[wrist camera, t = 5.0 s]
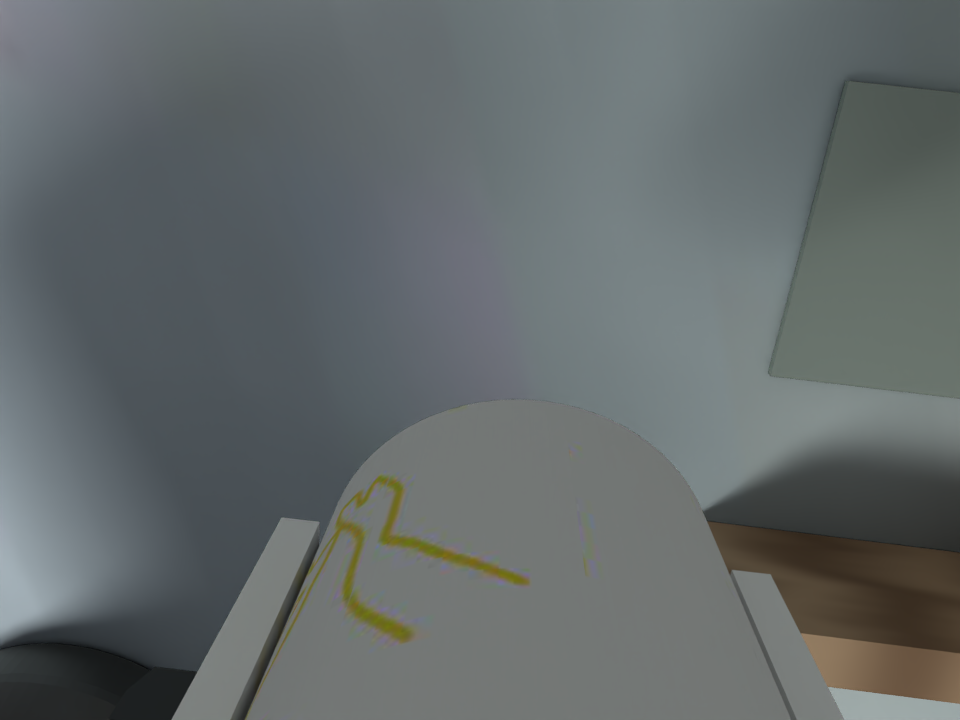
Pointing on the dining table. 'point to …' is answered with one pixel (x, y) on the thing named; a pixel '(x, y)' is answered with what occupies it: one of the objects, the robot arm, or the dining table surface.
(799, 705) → the robot arm
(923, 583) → the brown wooden l-shaped wall
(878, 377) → the pad
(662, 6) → the dining table surface
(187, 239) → the dining table surface
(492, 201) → the dining table surface
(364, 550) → the cup
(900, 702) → the dining table surface
